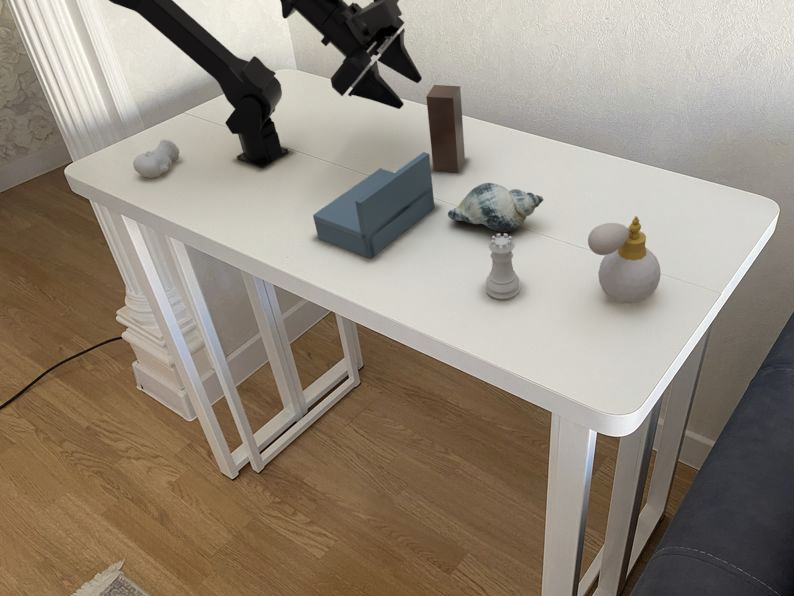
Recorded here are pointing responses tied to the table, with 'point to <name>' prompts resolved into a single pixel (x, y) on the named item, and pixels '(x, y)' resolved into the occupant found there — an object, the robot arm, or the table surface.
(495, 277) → the rook chess piece
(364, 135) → the table surface
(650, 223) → the table surface
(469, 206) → the seashell
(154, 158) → the smooth white sculpture
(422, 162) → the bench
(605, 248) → the perfume bottle
